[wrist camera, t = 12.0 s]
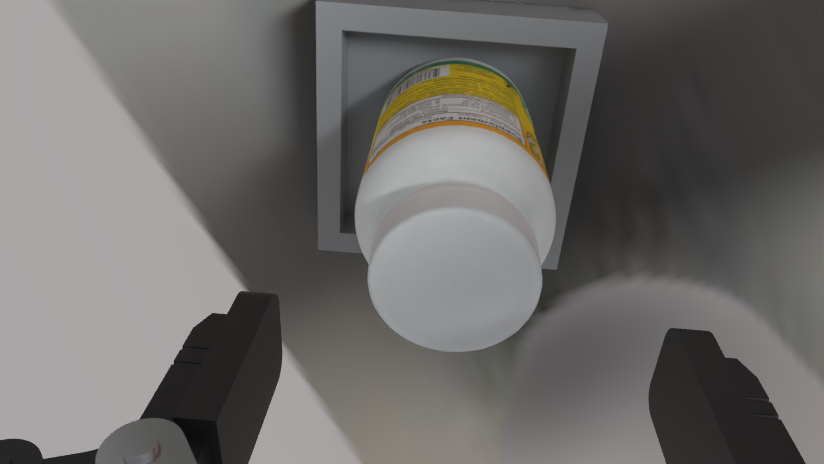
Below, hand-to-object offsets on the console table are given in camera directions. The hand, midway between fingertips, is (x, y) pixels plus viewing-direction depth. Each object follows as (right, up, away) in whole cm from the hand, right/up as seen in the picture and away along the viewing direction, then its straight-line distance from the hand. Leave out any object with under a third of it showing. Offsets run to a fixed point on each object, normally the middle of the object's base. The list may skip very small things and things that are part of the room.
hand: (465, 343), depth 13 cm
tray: (0, +6, +10) cm, 12 cm away
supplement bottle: (0, +6, +10) cm, 11 cm away
